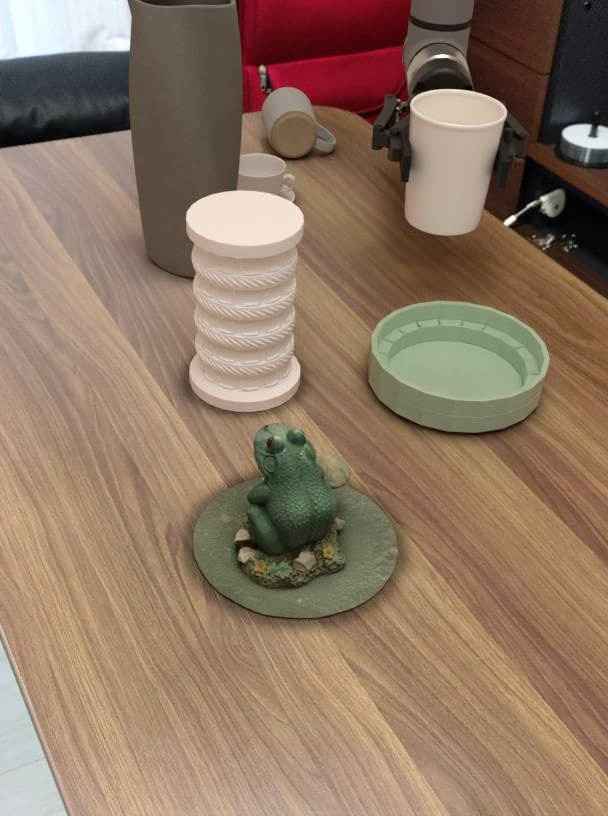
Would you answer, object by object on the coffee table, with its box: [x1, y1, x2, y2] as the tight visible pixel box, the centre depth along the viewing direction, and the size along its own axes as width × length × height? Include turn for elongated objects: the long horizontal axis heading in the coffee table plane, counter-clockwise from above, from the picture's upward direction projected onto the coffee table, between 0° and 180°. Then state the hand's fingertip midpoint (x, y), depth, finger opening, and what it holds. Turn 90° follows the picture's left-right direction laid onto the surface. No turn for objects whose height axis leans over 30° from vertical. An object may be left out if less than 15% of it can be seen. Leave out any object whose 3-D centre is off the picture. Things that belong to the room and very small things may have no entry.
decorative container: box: [186, 190, 305, 413], centre depth 96 cm, size 12×12×18 cm
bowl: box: [367, 300, 551, 434], centre depth 102 cm, size 18×18×4 cm
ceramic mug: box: [260, 86, 337, 159], centre depth 141 cm, size 11×8×8 cm
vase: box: [127, 0, 244, 279], centre depth 109 cm, size 12×12×30 cm
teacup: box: [237, 152, 296, 203], centre depth 130 cm, size 10×10×5 cm
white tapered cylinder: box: [404, 89, 508, 237], centre depth 103 cm, size 10×10×12 cm
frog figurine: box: [192, 422, 399, 619], centre depth 81 cm, size 18×18×12 cm
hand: (455, 172), depth 99 cm, fingers closed on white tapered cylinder, 9 cm apart
